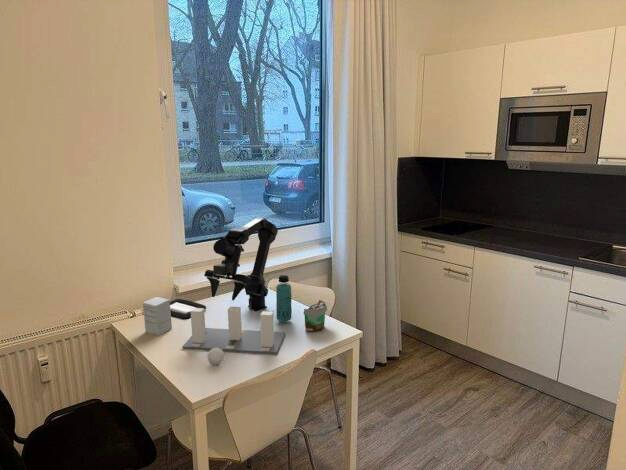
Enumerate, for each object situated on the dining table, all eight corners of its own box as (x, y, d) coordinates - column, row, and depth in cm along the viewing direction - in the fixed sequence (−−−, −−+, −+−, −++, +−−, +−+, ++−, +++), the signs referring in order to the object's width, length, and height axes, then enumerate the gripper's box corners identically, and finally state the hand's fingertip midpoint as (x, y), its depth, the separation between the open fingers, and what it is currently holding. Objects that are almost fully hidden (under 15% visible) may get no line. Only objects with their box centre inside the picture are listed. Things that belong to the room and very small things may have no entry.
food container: (316, 336, 165) (316, 312, 163) (303, 333, 169) (303, 309, 166) (332, 325, 176) (332, 302, 173) (319, 321, 179) (319, 299, 176)
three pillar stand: (199, 329, 171) (197, 298, 168) (285, 334, 167) (284, 302, 164) (182, 349, 156) (179, 314, 153) (276, 354, 152) (276, 319, 149)
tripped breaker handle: (231, 336, 163) (230, 306, 160) (241, 336, 162) (240, 307, 160) (229, 339, 160) (227, 309, 157) (239, 340, 159) (238, 310, 157)
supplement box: (159, 325, 176) (156, 296, 173) (172, 328, 172) (170, 299, 169) (144, 332, 169) (141, 302, 166) (158, 336, 166) (155, 305, 163)
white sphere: (225, 358, 149) (224, 344, 148) (224, 367, 144) (223, 352, 142) (202, 360, 148) (201, 345, 147) (200, 368, 143) (199, 353, 141)
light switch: (153, 308, 189) (177, 295, 200) (154, 314, 190) (178, 301, 201) (185, 317, 179) (208, 303, 191) (186, 323, 180) (209, 309, 191)
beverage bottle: (273, 323, 177) (272, 277, 172) (280, 317, 183) (279, 272, 178) (287, 326, 174) (287, 279, 170) (294, 320, 180) (294, 274, 176)
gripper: (201, 252, 167) (191, 292, 164) (241, 257, 160) (232, 299, 157) (216, 259, 177) (207, 296, 174) (255, 264, 170) (247, 303, 166)
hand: (222, 298), depth 167 cm, fingers open, 9 cm apart
